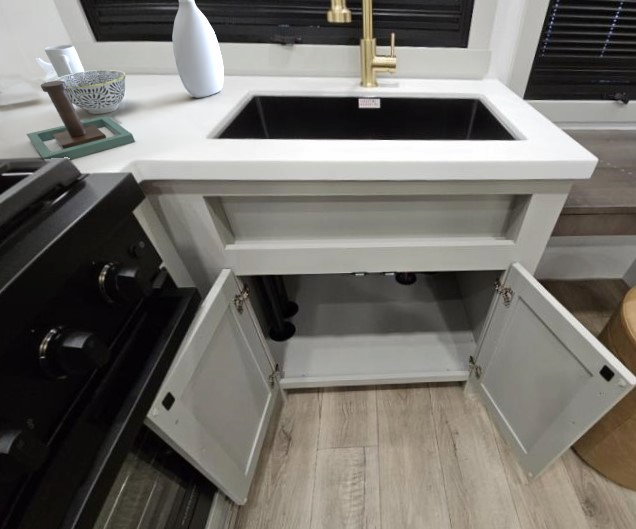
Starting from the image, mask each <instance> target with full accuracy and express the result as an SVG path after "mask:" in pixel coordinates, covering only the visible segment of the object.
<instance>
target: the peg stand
mask: <svg viewBox="0 0 636 529" xmlns="http://www.w3.org/2000/svg"><path fill="white" fill-rule="evenodd" d="M39 87H40V88H41V89H42V92H44V93H47V95H48V97H49V98H50V101H51V103H52V104H53V106H54V108H55V110H56V111H57V114H58V116H59V117H60V119H61V121H62V123H63V126H64V125H65V127H66V129H67V131H64V132H60V133H56V134H53V136H54V140H55V142H56V144H58V145H59V147H60V148H61V150H62V149H66V148H70V147H74V146H78V145H82V144H85V143H89V142H93V141H97V140H101V139H105V138H107V136H106V134H105V133H104V132H103V131H101V130H100V129H99V128H97V127H95V126H94V125H90V126H86V127H83V125H82V122H81V118H80V116H79V115H78V113H77V110H76V109H75V105H74V104H73V103H72V102H71V100H70V98H69V96H68V94H67V92H66V90H65V89H67V86H66V83H65V82H64V81H52V82H44V83H41V84H40V85H39Z"/></svg>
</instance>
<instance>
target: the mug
mask: <svg viewBox="0 0 636 529" xmlns="http://www.w3.org/2000/svg"><path fill="white" fill-rule="evenodd" d="M43 49H44V52H45V54H46V55H47V58H48V60H49V63H51V64H52V65H53V67H54V69H55V71H56V73H57V75H58V77H62V76H65V75H69V74H73V73H78V72H84V71H85V69H84V66H83V64H82V61H81V59H80V57H79V54H78V52H77V50H76V48H75V46H74V45H72V44H59V45H52V46H46V47H44V48H43Z"/></svg>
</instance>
